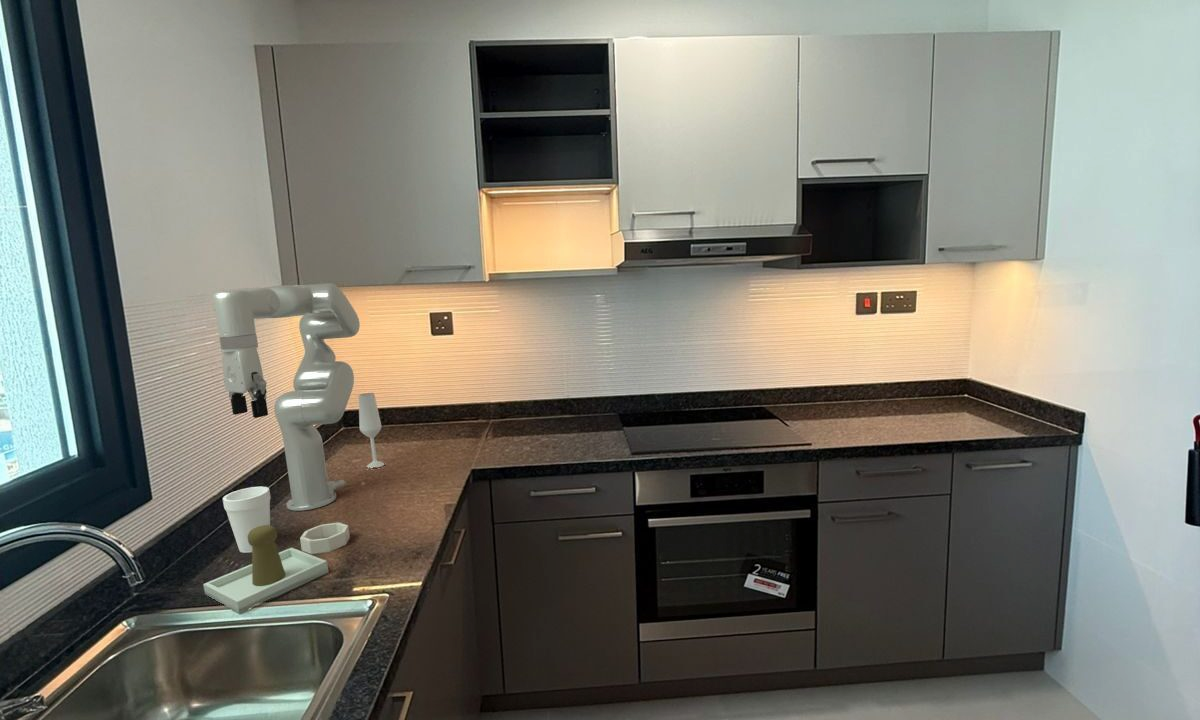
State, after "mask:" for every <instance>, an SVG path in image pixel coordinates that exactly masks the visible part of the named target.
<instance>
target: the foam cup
mask: <svg viewBox="0 0 1200 720" xmlns="http://www.w3.org/2000/svg"><path fill="white" fill-rule="evenodd" d="M271 498H272V497H271V492H270V488H269V487H267V486H250V487H246V488H241V489H238V490H236V491H232V492H230V493H228V494H226V495H224V496H223V497H222V503H223V509H224V510H225V511H226V514H227V515H226V516H227V518H228V520H229V524H230V527H231V529H232V532H233V535H234V539H235V541H236V542H235V543H236V544H237V548H238V550H239V552H240V553H243V554H245V553H252V546H251V545H250V544H249V542H248V534H249V532H250V531H251V530H252V529H254V528H256V527H259V526H263V525H271V509H270V508H271V501H270V500H271Z"/></svg>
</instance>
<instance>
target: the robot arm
mask: <svg viewBox="0 0 1200 720" xmlns="http://www.w3.org/2000/svg"><path fill="white" fill-rule="evenodd" d="M212 300H213V301H212V308H213V311H214V313H215V321H216V326H217V331H218V337H219V344H220V349H221V352H222V354H221V358H222V359H221V363H222V364H221V365H222V374H223V383H224V389H225V391H226V392H228V396H229V399H230V404H231V411H232V415H234V416H236V415H241V414H244V413H247V412H248V403H247V400H246V399H247V398H246V395H244V394H246V393H248V395H249V396H250V399H251V401H250V406H251V413H252V418H254V419H258V418H262V417H265V416H266V417H267V416H268V415H269V411H268V404H267V403H268V402H267V392H268V390H267V382H266V380H265V379H264V372H263V369H262V364H261V360H260V359H261V358H260V356H259V353H258V348H259V345H258V344H259V343H258V336H257V332H256V323H255V320H260V319H261V320H263V319H281V318H282V319H285V318H291V317H300V316H301V318H299V323H298V325H299V328H298V329H299V333H300V336H301V340H302V345H303V347H304V355H303V357H302V360H301V361H300V364H299V366H298V368H297V370H296V372H295V375H294V377H293V382H292V383H293V384H292V386H293V390H291V391H286V392H284V393H282V394H280V395H279V396H278V397H277V398H276V400H275V402H274V407H273V409H274V410H273V411H274V414H275V418H276V420H277V424H278V426H279V428H280V429H279V430H280V432H281V436H282V441H283V447H284V455H285V460H286V461H285V462H286V468H287V473H288V482H289V487H290V495H291V498H290V499H289V500H288V501H286V508H287V509H288V510H291V511H296V512H297V511H299V512H300V511H308V510H314V509H317V508H321V507H325V506H326V505H327V506H328V505H329V504H331V503H332V502H334V501H335V500H336V499H337V493H336V492H335V490H336V489H340V488H342V487H345V485H346V481H345V480H344V479H340V480H337V481H335V480H331V481H329V480H328V478H329V477H328V473H327V465H326V458H325V457H326V456H325V451H324V442H323V439H322V435H321V434H320V432H319V431H318V429H317V428H316V427H315V425H316V426H317V425H318V426H319V425H331V424H335V423H338V422H339V421H340V420H341V419H342V417H343V416H344V414H345V411H346V408H347V405H348V403H349V400H350V397H351V394H352V392H353V389H354V383H355V375H354V371H353V369H352V367H351V365H350V364H349V363H347V362H345V361H341V360H340V361H339V360H338V361H336V358H337V357H336V354H335V351H333V349H332V348H331V347H330V346H329V344H327V343H326V341H325V340H331V339H333V340H335V339H347V338H352V337H354V336H356V335H358V333H359V330H360V327H361V324H360V319H359V317H358V314H357V312H356V310H355V309H354V307H353V305H352V304H351V302H350V301H349V300H348V297H346V295H345V294H344V292H343V291H342V290H341V289H340V288H339V287H338V286H337V285H336V284H334V283H329V282H328V283H327V282H326V283H315V284H300V285H299V284H296V285H295V284H291V285H285V284H284V285H283V284H282V285H271V286H265V287H247V288H246V287H245V288H244V287H243V288H235V289H234V288H233V289H223V290H221V291H220V290H219V291H217V292H214V294H213V296H212Z"/></svg>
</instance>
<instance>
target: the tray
mask: <svg viewBox="0 0 1200 720" xmlns="http://www.w3.org/2000/svg"><path fill="white" fill-rule="evenodd" d="M278 553H279V556H280V559H281V562H282V565H283V568H284V571H285V577H284V578H283V579H282V580H280V581H278V582H276V583H273V584H270V585H266V586H255V585H253V583H252V563H251V564H248V565H246V566H244V567H241V568H239V569H236V570H234V571H231V572H230V573H226V574H224V575H222V576H219V577H217V578H215V579H212V580H209V581H207V582H206V583H203V590H204V596H205V595H207V596H209V597H211V598H212V599H215V600H216V601H218V602H220V603H222V604H224V605H226V606H228V607H230V608H231V609H232V610H231V611H232V612H234V613H236V614H238V615H241V614H244V613H246V612H247V611H249V610H248V609H249V608H250V607H252V606H253V605H255V604H257V603H260V602H263V601H266V600H268V599H271V598H273V599H275V598H277V597H279V596H281V595H283V594H285V593H288V592H290V591H292V590H294V589H297V588H298V587H301V586H302V585H304V584H307V583H309V582H311V581H313V580H315V579H317V578H319V577H321V576H325V575H326V574H328V573H329V566H328V565H329V564H328V561H327V560H325V559H323V558H320V557H318V556H315V555H313V554H310V553H307V552H305V551H302V550H299V549H296V548H294V547H290V548H287V549H285V550H282V551H280V552H278ZM274 597H275V598H274ZM212 599H211V600H212ZM271 600H272V599H271ZM216 601H215V602H216Z"/></svg>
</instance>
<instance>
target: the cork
mask: <svg viewBox="0 0 1200 720" xmlns="http://www.w3.org/2000/svg"><path fill="white" fill-rule="evenodd" d="M277 536H278V532H277V529H276V527H275V526H273V525H271V524H270V525H263V526H259V527H256V528H254V529H252V530H251V531H250V532H249V534H248V542H249V544H250V545H251V546H252V552H251V556H252V557H251V564H252V583H253V585H255V586H266V585H270V584H273V583H276V582H278V581H280V580H282V579H283V578H284V577H285V571H284V568H283V565H282V562H281V559H280V556H279V553H280V552H279V550H278V547H277V543H276V539H277Z"/></svg>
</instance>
